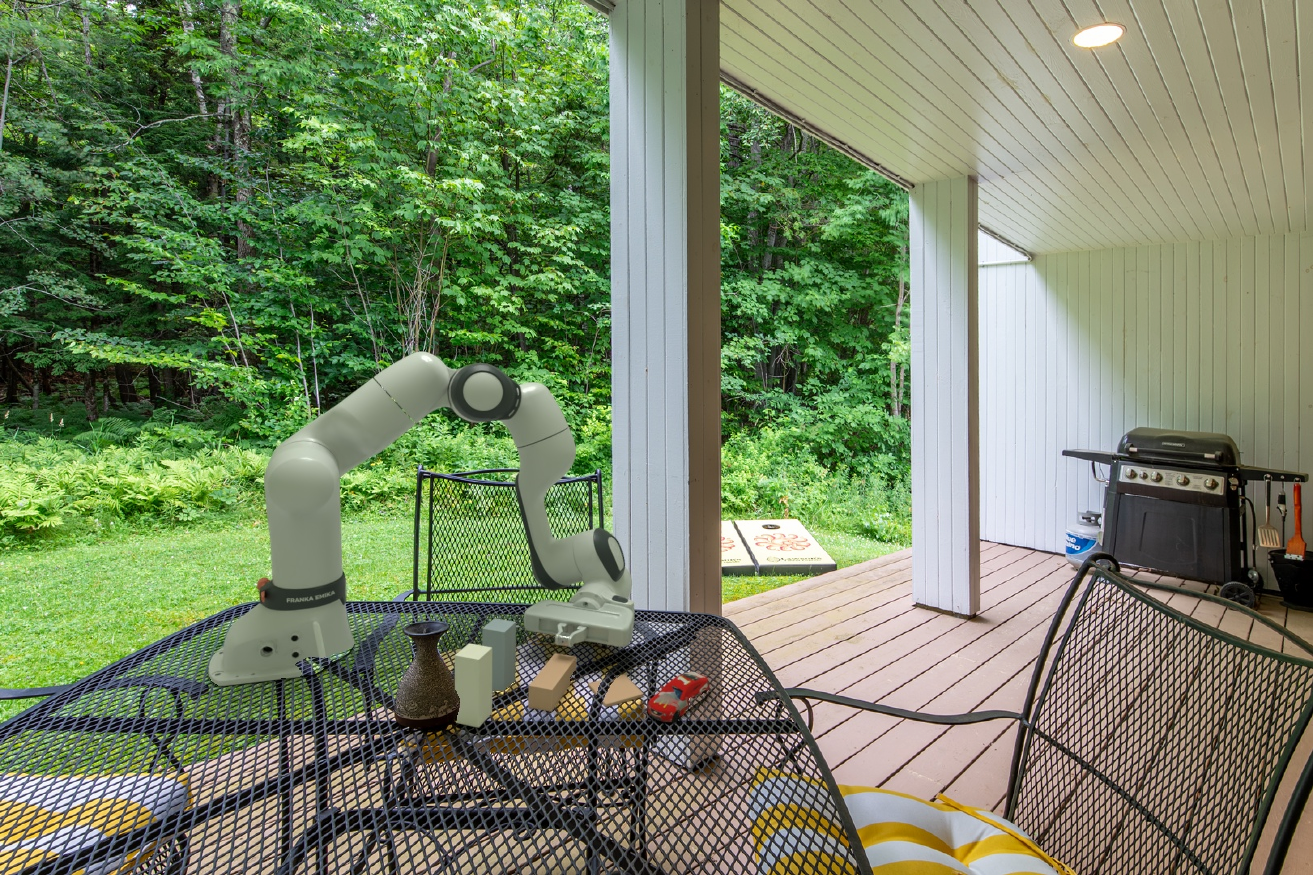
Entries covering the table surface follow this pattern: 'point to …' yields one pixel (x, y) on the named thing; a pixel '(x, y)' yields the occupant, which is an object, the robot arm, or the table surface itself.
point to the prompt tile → (618, 691)
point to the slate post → (501, 651)
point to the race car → (677, 696)
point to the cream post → (474, 684)
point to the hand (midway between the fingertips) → (562, 641)
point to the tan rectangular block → (551, 682)
